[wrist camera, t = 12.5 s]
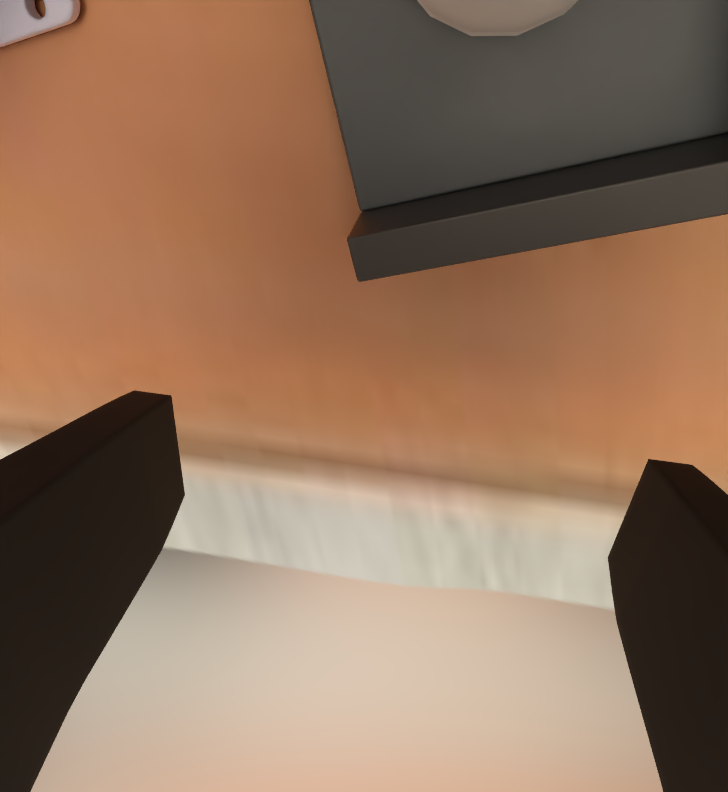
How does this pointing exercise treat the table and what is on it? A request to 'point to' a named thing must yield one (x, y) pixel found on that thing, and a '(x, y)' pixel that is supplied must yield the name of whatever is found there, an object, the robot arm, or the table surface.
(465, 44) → the dark grey stepped block
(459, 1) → the rook chess piece
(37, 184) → the table surface
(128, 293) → the table surface
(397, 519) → the table surface
